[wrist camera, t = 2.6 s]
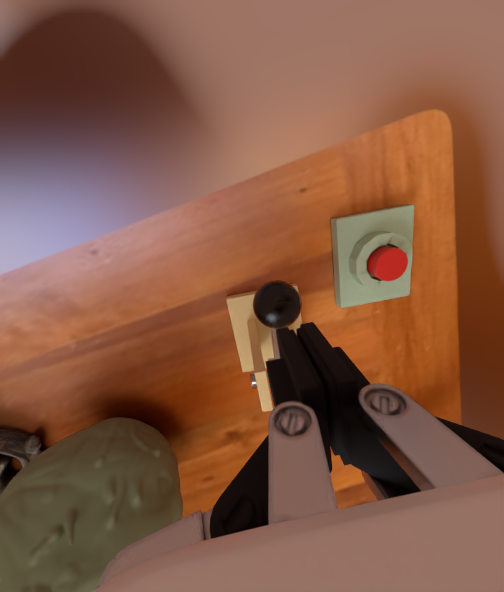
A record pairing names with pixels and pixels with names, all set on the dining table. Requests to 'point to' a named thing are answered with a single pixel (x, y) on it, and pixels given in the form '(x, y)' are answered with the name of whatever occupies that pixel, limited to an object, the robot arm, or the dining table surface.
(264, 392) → the switch bracket
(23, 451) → the grey toy shark
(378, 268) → the console button
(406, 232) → the grey button base
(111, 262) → the dining table surface
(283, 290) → the switch lever
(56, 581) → the green rock
